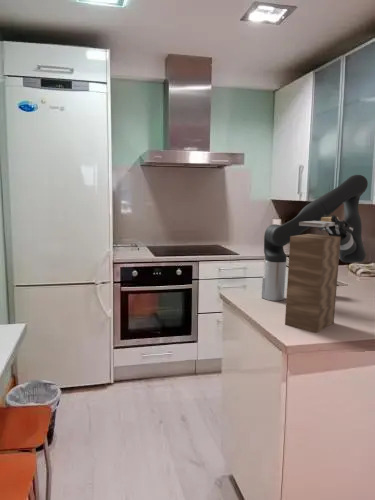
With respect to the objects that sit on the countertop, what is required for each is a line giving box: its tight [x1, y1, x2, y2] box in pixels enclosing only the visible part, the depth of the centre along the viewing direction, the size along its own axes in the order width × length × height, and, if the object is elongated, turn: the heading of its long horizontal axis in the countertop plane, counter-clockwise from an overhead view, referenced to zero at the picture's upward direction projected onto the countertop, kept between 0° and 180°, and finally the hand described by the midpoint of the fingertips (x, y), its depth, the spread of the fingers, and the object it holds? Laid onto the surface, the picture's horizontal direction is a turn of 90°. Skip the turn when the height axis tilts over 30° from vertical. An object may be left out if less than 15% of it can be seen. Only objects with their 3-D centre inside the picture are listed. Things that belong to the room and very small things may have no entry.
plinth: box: [284, 233, 341, 333], centre depth 142 cm, size 15×12×32 cm
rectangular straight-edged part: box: [299, 216, 339, 228], centre depth 143 cm, size 22×8×3 cm, turn 139°
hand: (328, 217), depth 146 cm, fingers closed on rectangular straight-edged part, 2 cm apart
